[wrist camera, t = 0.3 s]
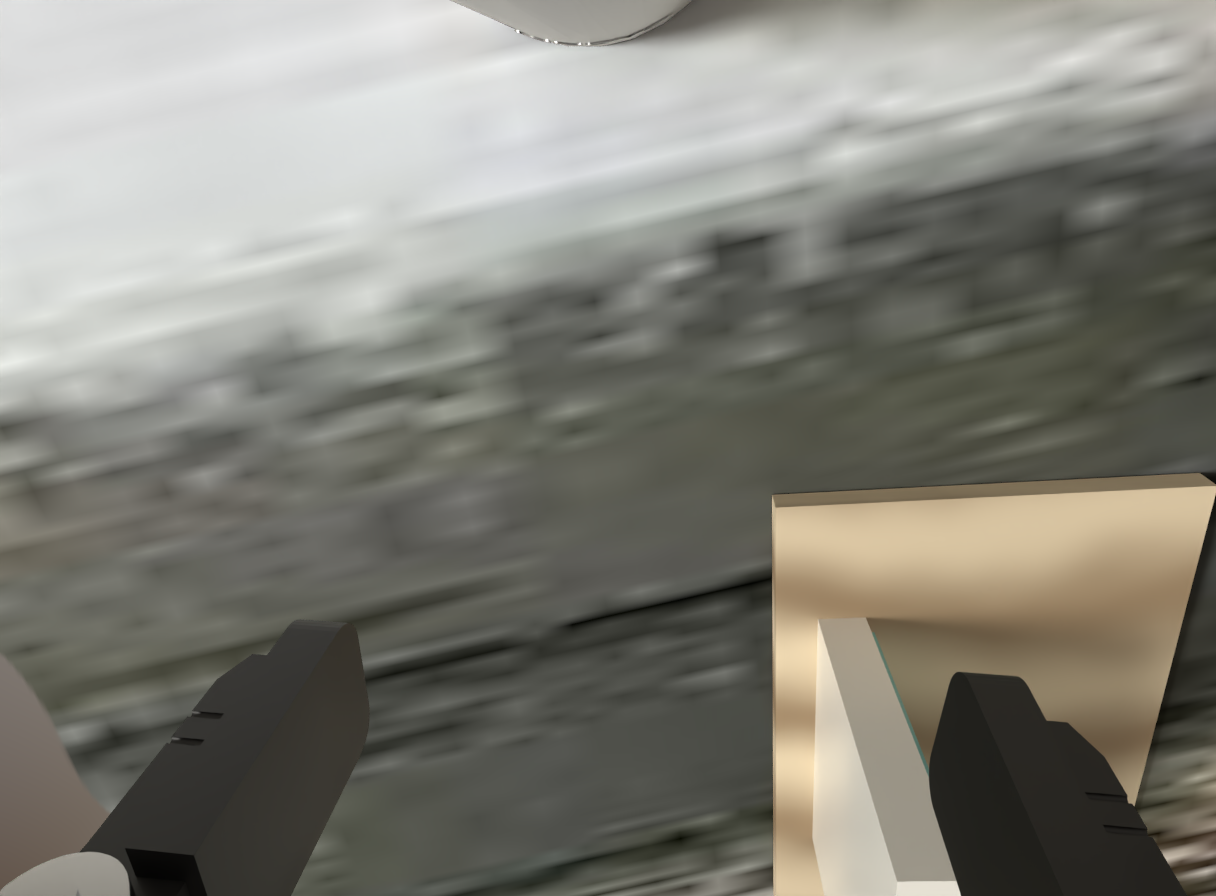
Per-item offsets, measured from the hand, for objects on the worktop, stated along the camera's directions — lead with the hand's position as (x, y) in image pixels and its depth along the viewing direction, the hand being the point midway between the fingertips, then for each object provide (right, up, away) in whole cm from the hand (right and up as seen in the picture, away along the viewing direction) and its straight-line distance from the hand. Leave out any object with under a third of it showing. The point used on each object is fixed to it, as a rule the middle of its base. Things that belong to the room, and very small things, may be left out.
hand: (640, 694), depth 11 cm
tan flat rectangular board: (+14, -8, +22) cm, 28 cm away
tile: (+9, -9, +22) cm, 25 cm away
